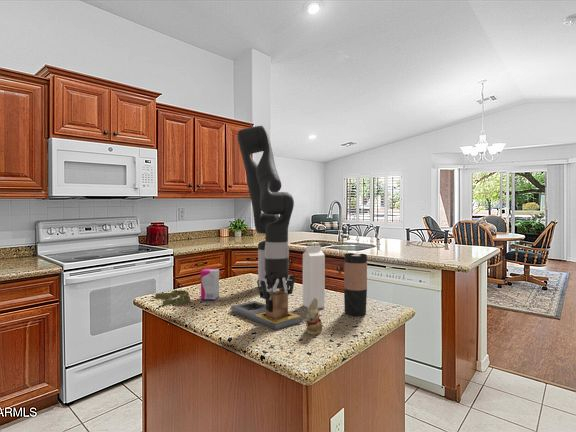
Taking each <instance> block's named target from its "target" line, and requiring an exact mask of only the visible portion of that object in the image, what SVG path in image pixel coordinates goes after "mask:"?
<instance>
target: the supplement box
mask: <svg viewBox="0 0 576 432" xmlns="http://www.w3.org/2000/svg"><path fill="white" fill-rule="evenodd" d="M219 298H220V269H219V268H204V269H202V270H200V301H211V302H215V301H217V300H218V299H219Z"/></svg>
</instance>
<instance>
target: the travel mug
mask: <svg viewBox="0 0 576 432" xmlns="http://www.w3.org/2000/svg"><path fill="white" fill-rule="evenodd" d="M343 262H344V269H343V270H344V271H343V272H344V273H343V275H344V279H343V282H344V283H343V295H344V296H343V297H344V300H343V301H344V313H345V315H348V316H351V317H362V316H365V315H366V314H367V298H368V296H367V295H368V255H367V254H366V253H360V254H356V253H355V254H354V253H353V252H351V253H344V261H343Z"/></svg>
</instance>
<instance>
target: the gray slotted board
mask: <svg viewBox="0 0 576 432" xmlns="http://www.w3.org/2000/svg"><path fill="white" fill-rule="evenodd" d="M230 312H231V313H233V314H236V315H238V316H241V317H242V318H246V319H248V320H250V321H252V322H255V323H257V324H260V325H262V326H264V325H265V326H264V327H267V328H269V329H271V328H272V330H274V331H278V330H279V329H284V328H287V327H291V326H295V325H297V324H300V323H301V315H300V314H296V313H293V312H290V311H288V317H284V318H280V319H277V320H274V319H271V318H269V317H266V303H262V302H259V301H258V300H257V301H256V300H251V301H247V302H243V303H238V304H234V305H231V306H230ZM277 329H278V330H277Z"/></svg>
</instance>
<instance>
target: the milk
mask: <svg viewBox="0 0 576 432" xmlns="http://www.w3.org/2000/svg"><path fill="white" fill-rule="evenodd" d="M325 258H326V255H325V253H324V252H323V251H322V246H321V245H309V246H306V247H305V251H304V252H303V253H302V306H304V307H305V308H306V309H308V308H309V306H310V305H311V303H312V301H313V299H314V298H317V300H318V309H323V308H325V306H326V305H325V300H326V299H325V297H326V296H325V295H326V293H325V292H326V291H325V285H326V284H325V282H326V279H325V277H326V274H325V273H326V271H325V267H326V263H325V260H326V259H325Z"/></svg>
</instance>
